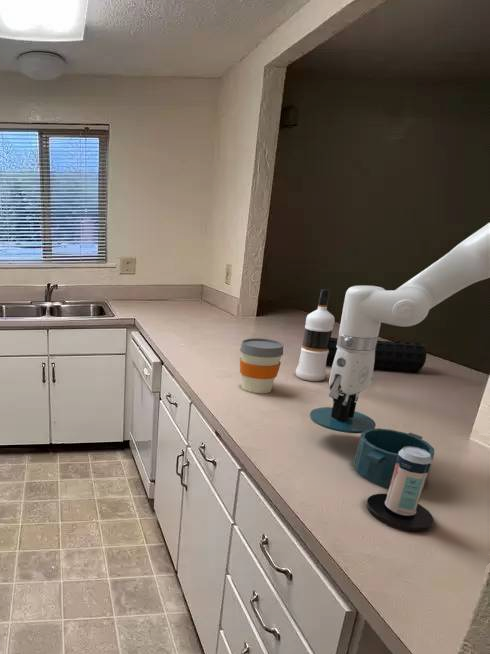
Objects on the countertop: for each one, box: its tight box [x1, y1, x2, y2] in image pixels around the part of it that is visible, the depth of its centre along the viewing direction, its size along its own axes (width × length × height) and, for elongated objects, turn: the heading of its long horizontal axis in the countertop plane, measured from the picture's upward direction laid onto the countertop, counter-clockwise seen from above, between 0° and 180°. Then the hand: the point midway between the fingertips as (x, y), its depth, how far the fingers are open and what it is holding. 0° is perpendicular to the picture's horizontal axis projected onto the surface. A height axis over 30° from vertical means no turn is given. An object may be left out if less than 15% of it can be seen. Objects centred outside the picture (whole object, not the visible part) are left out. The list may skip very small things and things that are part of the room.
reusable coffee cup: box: [239, 337, 284, 394], centre depth 137 cm, size 12×13×15 cm
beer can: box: [385, 446, 433, 516], centre depth 77 cm, size 5×5×12 cm
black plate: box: [366, 493, 435, 533], centre depth 79 cm, size 10×10×1 cm
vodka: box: [295, 288, 336, 382], centre depth 144 cm, size 9×9×30 cm
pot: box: [353, 428, 435, 489], centre depth 91 cm, size 13×18×8 cm
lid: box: [309, 394, 377, 434], centre depth 102 cm, size 14×14×7 cm
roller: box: [326, 337, 427, 373], centre depth 158 cm, size 38×10×10 cm, turn 71°
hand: (342, 416), depth 103 cm, fingers closed on lid, 2 cm apart
